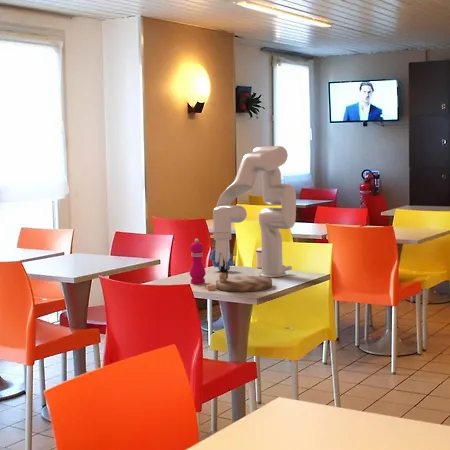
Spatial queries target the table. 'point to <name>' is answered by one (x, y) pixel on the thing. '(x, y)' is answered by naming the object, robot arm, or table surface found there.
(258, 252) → the teacup with lid
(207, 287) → the block
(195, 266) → the pepper mill
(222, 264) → the robot arm
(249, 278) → the disc
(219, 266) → the blue lumpy piece
